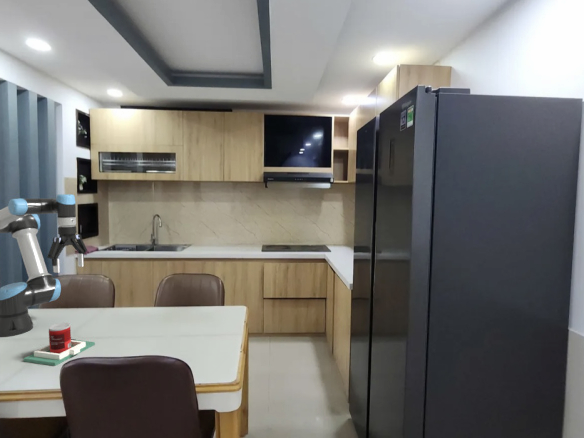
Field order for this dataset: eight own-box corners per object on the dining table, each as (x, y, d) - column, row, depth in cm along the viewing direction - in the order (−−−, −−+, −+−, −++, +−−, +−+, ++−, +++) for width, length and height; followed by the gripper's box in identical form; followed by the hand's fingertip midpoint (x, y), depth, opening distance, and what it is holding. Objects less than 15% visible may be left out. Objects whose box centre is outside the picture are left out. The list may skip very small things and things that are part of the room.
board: (23, 361, 141) (23, 353, 141) (66, 341, 161) (65, 334, 160) (58, 366, 137) (57, 358, 137) (97, 345, 157) (97, 338, 156)
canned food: (67, 345, 153) (66, 321, 153) (74, 350, 148) (73, 325, 148) (47, 351, 147) (46, 326, 147) (53, 357, 142) (52, 331, 142)
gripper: (49, 228, 154) (52, 275, 156) (94, 224, 178) (95, 264, 180) (36, 228, 156) (38, 274, 157) (82, 223, 180) (83, 264, 182)
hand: (69, 269), depth 169 cm, fingers open, 13 cm apart
